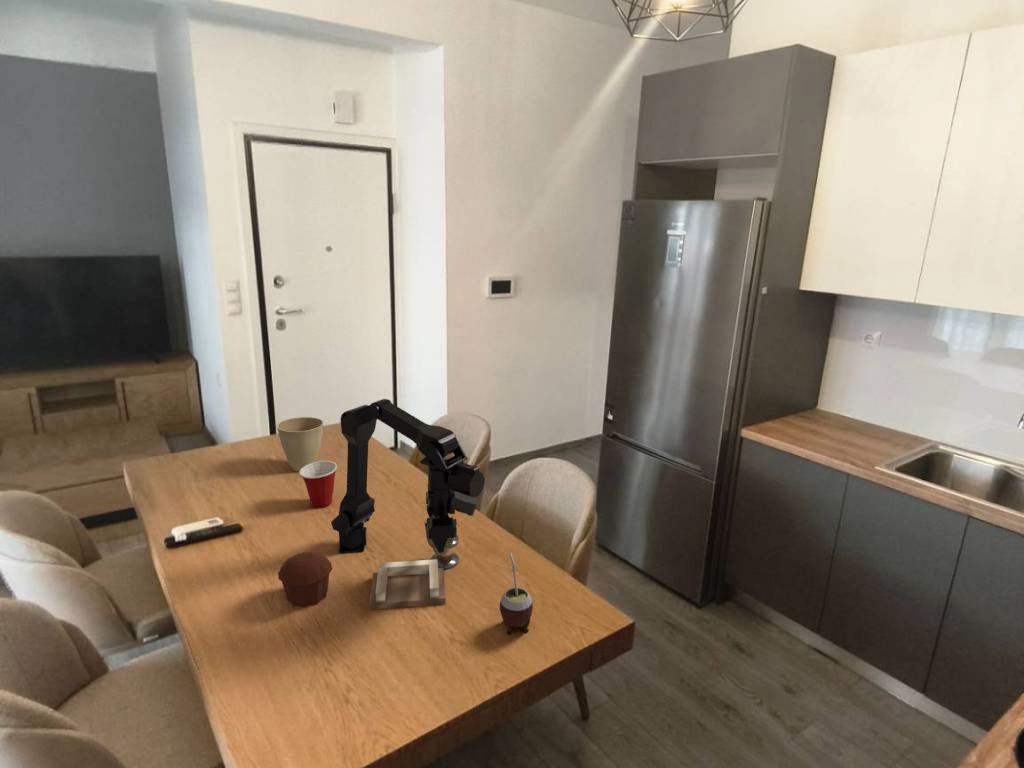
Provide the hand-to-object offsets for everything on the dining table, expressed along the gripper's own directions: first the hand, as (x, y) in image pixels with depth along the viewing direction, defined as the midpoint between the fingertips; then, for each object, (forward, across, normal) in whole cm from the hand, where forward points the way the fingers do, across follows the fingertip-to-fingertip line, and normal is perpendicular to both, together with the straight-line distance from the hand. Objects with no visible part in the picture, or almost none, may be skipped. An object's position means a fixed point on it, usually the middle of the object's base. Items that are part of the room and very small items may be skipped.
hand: (440, 544), depth 138 cm
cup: (+2, 0, 0) cm, 2 cm away
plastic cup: (+12, +44, +34) cm, 57 cm away
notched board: (+11, -2, +8) cm, 13 cm away
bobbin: (+11, +9, -2) cm, 14 cm away
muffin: (+11, -1, +30) cm, 32 cm away
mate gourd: (+10, -18, -15) cm, 25 cm away
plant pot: (+12, +73, +43) cm, 85 cm away
